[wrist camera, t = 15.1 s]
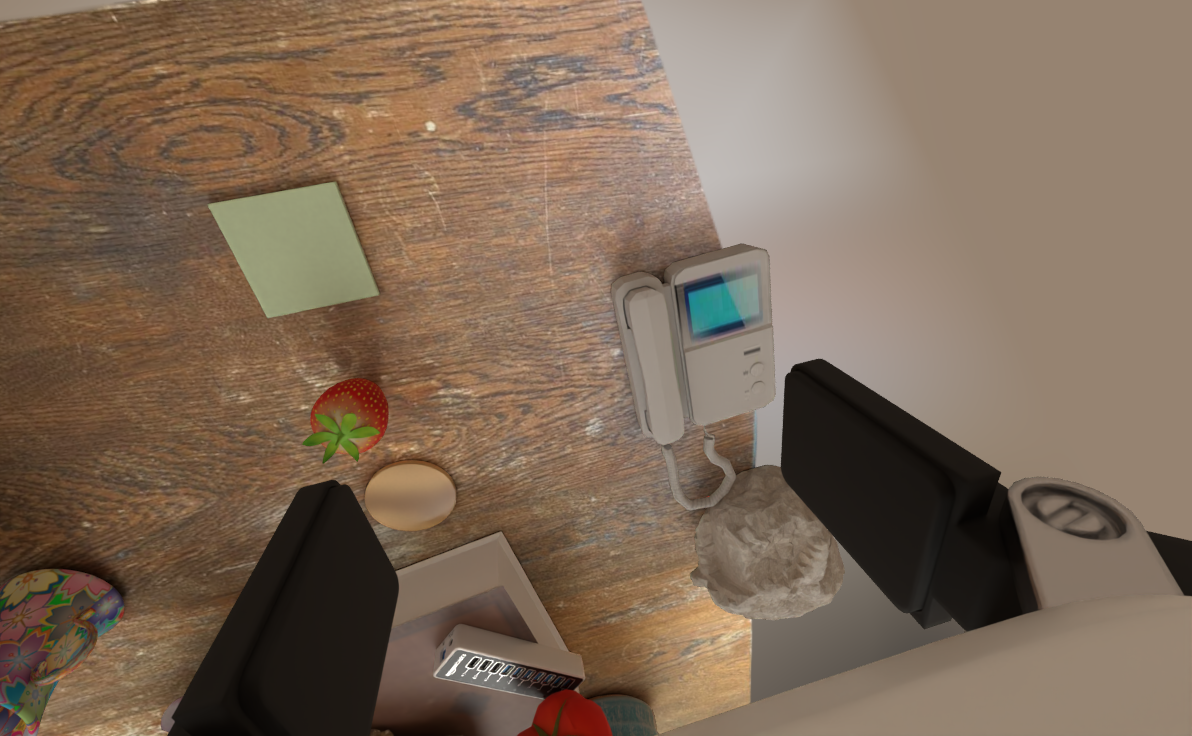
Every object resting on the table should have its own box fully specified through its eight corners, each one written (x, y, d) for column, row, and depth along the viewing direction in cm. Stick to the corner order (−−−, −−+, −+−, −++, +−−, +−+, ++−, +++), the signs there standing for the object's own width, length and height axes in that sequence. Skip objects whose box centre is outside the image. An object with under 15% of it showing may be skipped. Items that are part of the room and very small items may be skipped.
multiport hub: (559, 680, 49) (562, 704, 46) (433, 652, 43) (430, 677, 41) (583, 655, 47) (587, 678, 45) (458, 622, 41) (456, 647, 39)
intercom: (667, 531, 45) (620, 294, 34) (653, 502, 49) (606, 280, 37) (790, 491, 46) (784, 248, 35) (767, 465, 50) (754, 239, 39)
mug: (60, 645, 42) (-64, 788, 32) (-32, 582, 37) (-207, 728, 28) (190, 598, 42) (106, 725, 33) (115, 531, 38) (-7, 656, 29)
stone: (686, 547, 41) (726, 430, 51) (670, 617, 52) (705, 511, 62) (898, 635, 35) (896, 484, 45) (829, 692, 47) (839, 562, 57)
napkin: (210, 203, 30) (206, 204, 29) (336, 181, 31) (334, 181, 30) (269, 316, 33) (267, 318, 33) (380, 293, 34) (379, 295, 34)
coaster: (351, 472, 40) (349, 477, 40) (441, 450, 41) (441, 454, 41) (384, 536, 44) (383, 540, 43) (466, 514, 45) (466, 518, 44)
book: (402, 743, 58) (393, 809, 53) (268, 619, 45) (236, 688, 39) (580, 672, 60) (590, 728, 54) (501, 531, 46) (503, 585, 41)
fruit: (401, 416, 39) (382, 476, 32) (335, 418, 38) (299, 480, 31) (395, 359, 37) (372, 410, 30) (324, 359, 36) (283, 412, 28)
